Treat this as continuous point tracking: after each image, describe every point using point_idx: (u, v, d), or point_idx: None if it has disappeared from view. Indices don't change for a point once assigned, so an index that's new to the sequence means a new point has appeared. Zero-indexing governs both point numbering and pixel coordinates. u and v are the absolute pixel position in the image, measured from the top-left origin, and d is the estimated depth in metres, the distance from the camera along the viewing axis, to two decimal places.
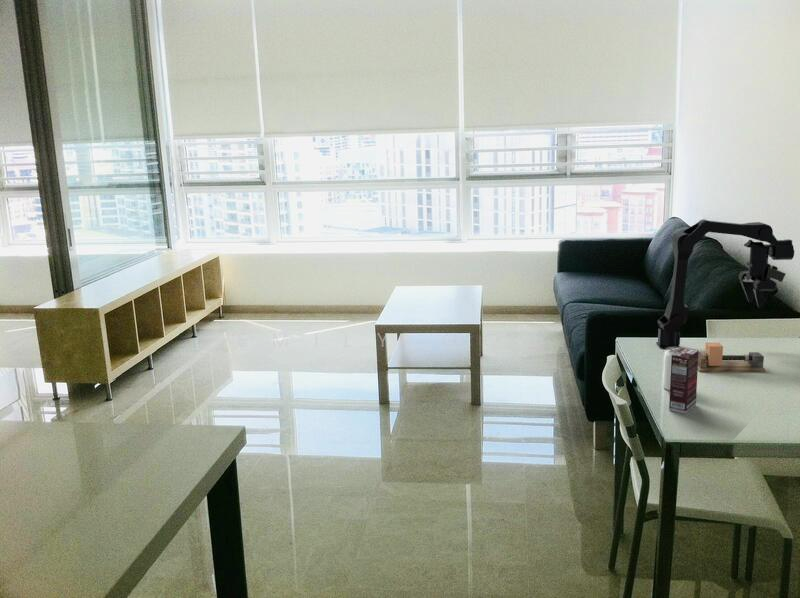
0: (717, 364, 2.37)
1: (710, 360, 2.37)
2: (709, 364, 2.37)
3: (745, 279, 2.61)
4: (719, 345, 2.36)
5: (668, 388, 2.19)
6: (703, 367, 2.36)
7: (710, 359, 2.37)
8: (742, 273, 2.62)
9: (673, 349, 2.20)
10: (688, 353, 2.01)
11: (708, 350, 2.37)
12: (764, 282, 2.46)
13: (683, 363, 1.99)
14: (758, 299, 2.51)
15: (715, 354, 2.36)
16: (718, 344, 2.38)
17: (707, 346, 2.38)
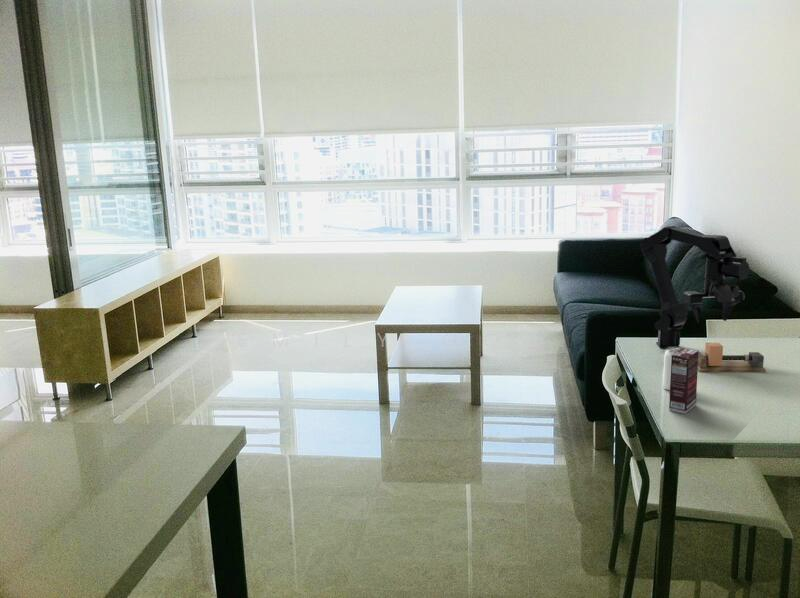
0: (717, 364, 2.37)
1: (710, 360, 2.37)
2: (709, 364, 2.37)
3: None
4: (719, 345, 2.36)
5: (668, 388, 2.19)
6: (703, 367, 2.36)
7: (710, 359, 2.37)
8: None
9: (673, 349, 2.20)
10: (688, 353, 2.01)
11: (708, 350, 2.37)
12: (685, 293, 2.44)
13: (683, 363, 1.99)
14: (694, 312, 2.47)
15: (715, 354, 2.36)
16: (718, 344, 2.38)
17: (707, 346, 2.38)
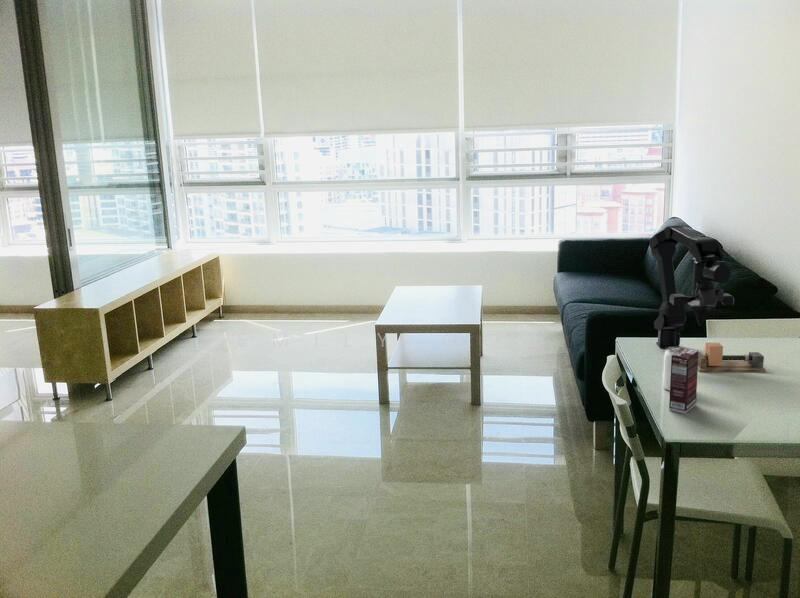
0: (717, 364, 2.37)
1: (710, 360, 2.37)
2: (709, 364, 2.37)
3: None
4: (719, 345, 2.36)
5: (668, 388, 2.19)
6: (703, 367, 2.36)
7: (710, 359, 2.37)
8: None
9: (673, 349, 2.20)
10: (688, 353, 2.01)
11: (708, 350, 2.37)
12: (671, 295, 2.42)
13: (683, 363, 1.99)
14: (695, 315, 2.43)
15: (715, 354, 2.36)
16: (718, 344, 2.38)
17: (707, 346, 2.38)
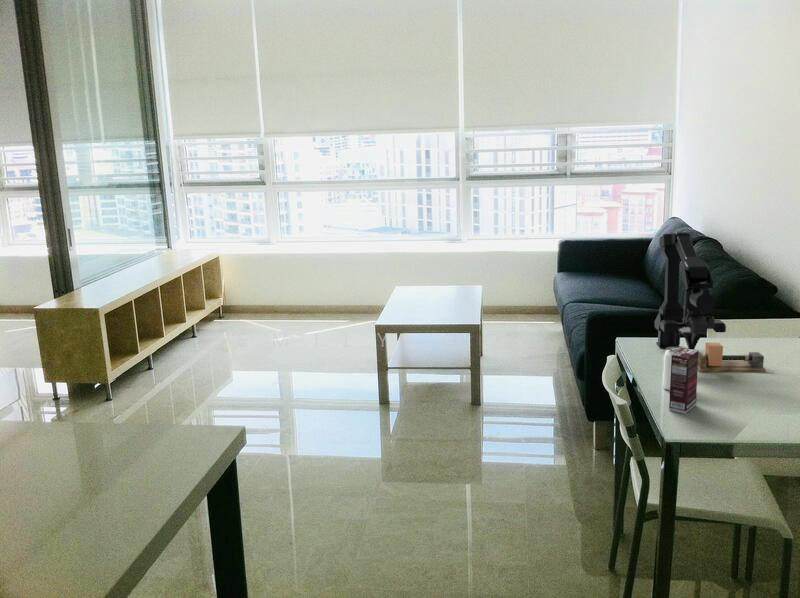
0: (717, 364, 2.37)
1: (710, 360, 2.37)
2: (709, 364, 2.37)
3: None
4: (719, 345, 2.36)
5: (668, 388, 2.19)
6: (703, 367, 2.36)
7: (710, 359, 2.37)
8: None
9: (673, 349, 2.20)
10: (688, 353, 2.01)
11: (708, 350, 2.37)
12: (662, 321, 2.38)
13: (683, 363, 1.99)
14: (686, 341, 2.39)
15: (715, 354, 2.36)
16: (718, 344, 2.38)
17: (707, 346, 2.38)
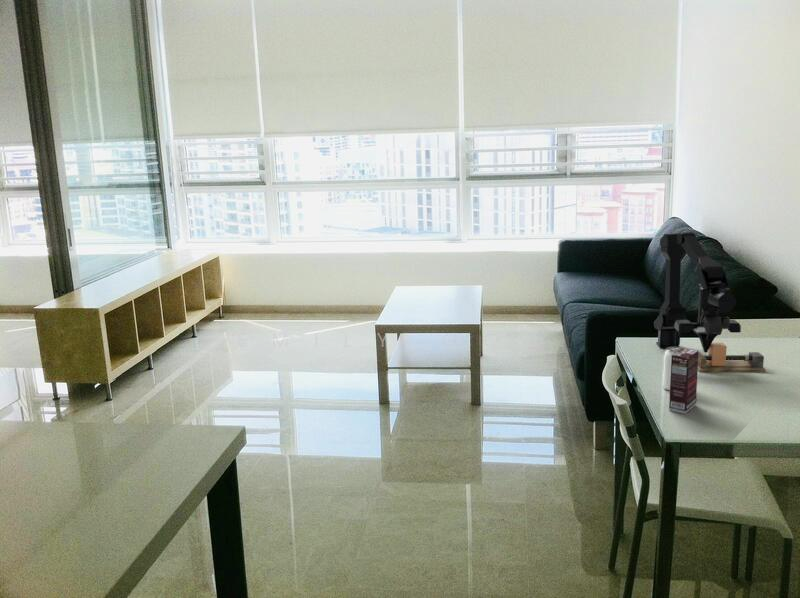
0: (721, 364, 2.37)
1: (714, 361, 2.37)
2: (713, 364, 2.37)
3: None
4: (723, 345, 2.36)
5: (668, 388, 2.19)
6: (703, 367, 2.36)
7: (714, 359, 2.36)
8: None
9: (673, 349, 2.20)
10: (688, 353, 2.01)
11: (712, 350, 2.37)
12: (676, 321, 2.38)
13: (683, 363, 1.99)
14: (701, 341, 2.39)
15: (718, 354, 2.36)
16: (722, 344, 2.37)
17: (711, 346, 2.38)
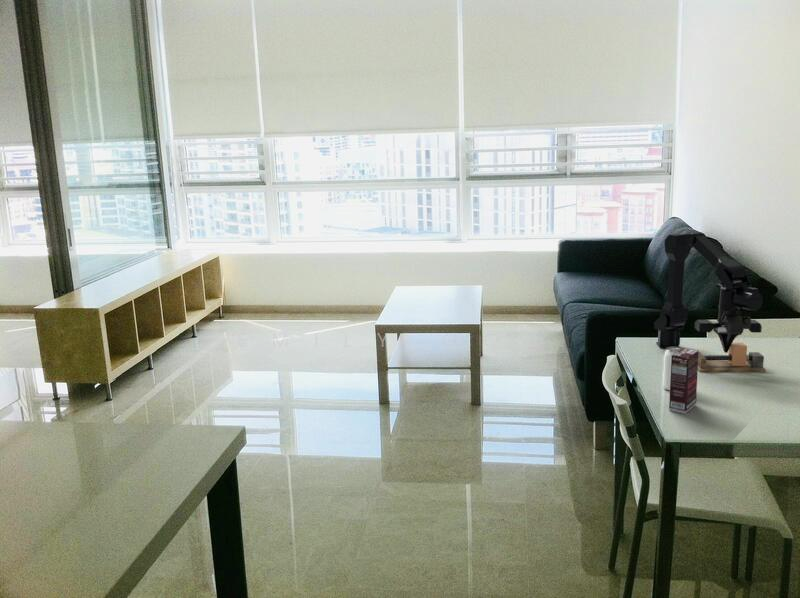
0: (741, 364, 2.36)
1: (734, 361, 2.36)
2: (733, 364, 2.36)
3: None
4: (743, 345, 2.36)
5: (668, 388, 2.19)
6: (703, 367, 2.36)
7: (734, 359, 2.36)
8: None
9: (673, 349, 2.20)
10: (688, 353, 2.01)
11: (732, 350, 2.36)
12: (697, 321, 2.37)
13: (683, 363, 1.99)
14: (721, 341, 2.38)
15: (739, 354, 2.35)
16: (742, 344, 2.37)
17: (731, 346, 2.37)
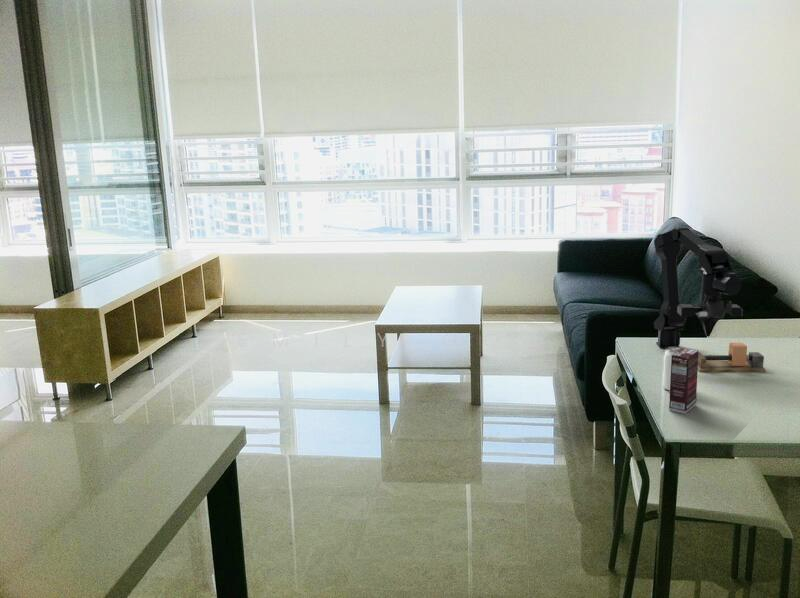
0: (741, 364, 2.36)
1: (734, 361, 2.36)
2: (733, 364, 2.36)
3: None
4: (743, 345, 2.36)
5: (668, 388, 2.19)
6: (703, 367, 2.36)
7: (734, 359, 2.36)
8: None
9: (673, 349, 2.20)
10: (688, 353, 2.01)
11: (732, 350, 2.36)
12: (679, 306, 2.40)
13: (683, 363, 1.99)
14: (703, 326, 2.41)
15: (739, 354, 2.35)
16: (742, 344, 2.37)
17: (731, 346, 2.37)
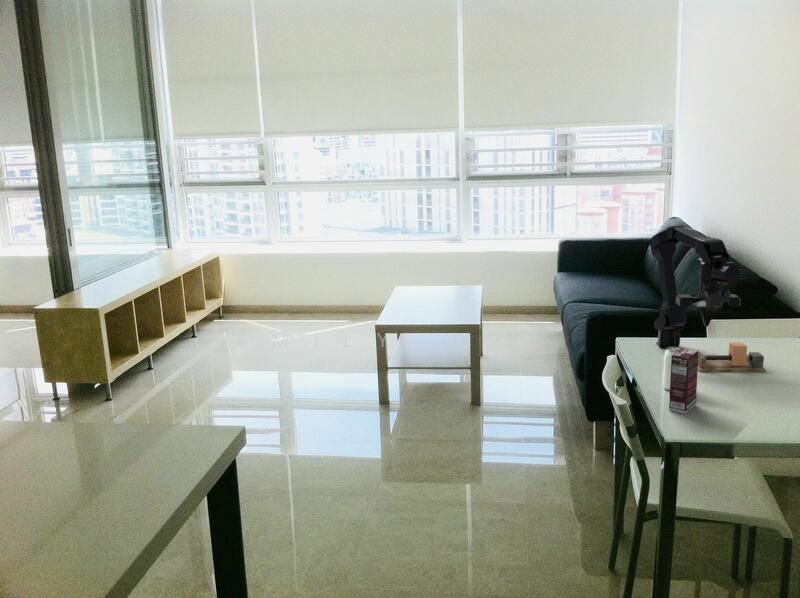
0: (741, 364, 2.36)
1: (734, 361, 2.36)
2: (733, 364, 2.36)
3: None
4: (743, 345, 2.36)
5: (668, 388, 2.19)
6: (703, 367, 2.36)
7: (734, 359, 2.36)
8: None
9: (673, 349, 2.20)
10: (688, 353, 2.01)
11: (732, 350, 2.36)
12: (678, 296, 2.42)
13: (683, 363, 1.99)
14: (702, 316, 2.43)
15: (739, 354, 2.35)
16: (742, 344, 2.37)
17: (731, 346, 2.37)
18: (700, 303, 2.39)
